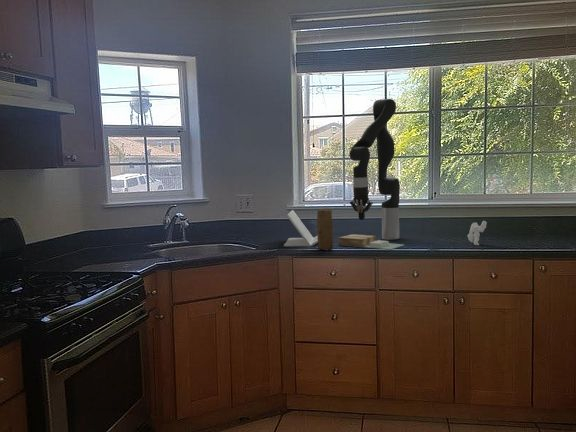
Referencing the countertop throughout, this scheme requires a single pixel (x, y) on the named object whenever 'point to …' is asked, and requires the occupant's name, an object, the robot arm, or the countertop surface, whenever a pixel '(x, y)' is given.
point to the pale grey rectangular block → (378, 243)
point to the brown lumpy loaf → (324, 229)
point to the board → (356, 240)
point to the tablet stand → (306, 235)
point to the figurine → (476, 232)
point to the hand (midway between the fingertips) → (361, 219)
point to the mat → (390, 246)
